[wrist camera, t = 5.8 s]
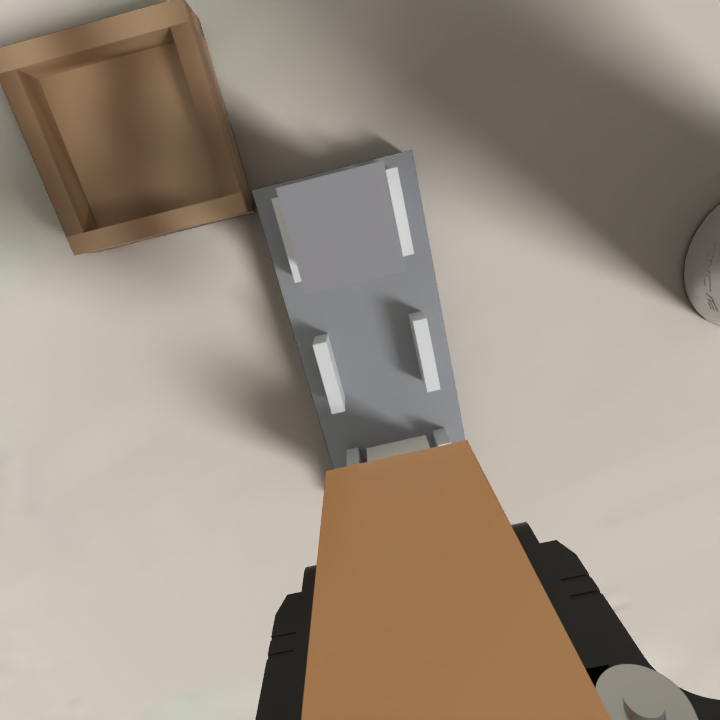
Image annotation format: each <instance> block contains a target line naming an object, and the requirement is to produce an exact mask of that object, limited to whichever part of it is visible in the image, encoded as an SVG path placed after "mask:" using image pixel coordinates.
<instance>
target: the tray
mask: <svg viewBox="0 0 720 720" xmlns="http://www.w3.org/2000/svg"><path fill="white" fill-rule="evenodd" d="M0 83H1V85H2V87H3V90H4V92H5V94H6V97H7V99H8V101H9V104H10V106H11V108H12V111H13V113H14V115H15V118H16V120H17V122H18V125H19V127H20V129H21V132H22V134H23V136H24V139H25V141H26V143H27V146H28V148H29V150H30V153H31V155H32V158H33V160H34V162H35V165H36V167H37V169H38V172H39V174H40V176H41V179H42V181H43V183H44V186H45V188H46V190H47V193H48V195H49V197H50V200H51V202H52V204H53V207H54V209H55V211H56V214H57V216H58V218H59V221H60V223H61V225H62V228H63V230H64V232H65V235H66V237H67V239H68V242H69V244H70V246H71V249H72V251H73V253H74V255H79V254H86V253H94V252H100V251H104V250H108V249H112V248H116V247H120V246H123V245H127V244H131V243H135V242H139V241H143V240H147V239H151V238H155V237H159V236H163V235H167V234H171V233H175V232H179V231H183V230H187V229H191V228H195V227H198V226H202V225H206V224H210V223H214V222H218V221H222V220H226V219H230V218H234V217H238V216H242V215H246V214H250V213H254V212H256V211H255V208H254V204H253V201H252V197H251V194H250V191H249V187H248V184H247V180H246V177H245V174H244V170H243V167H242V163H241V160H240V157H239V153H238V150H237V146H236V143H235V140H234V136H233V133H232V129H231V126H230V123H229V119H228V116H227V113H226V109H225V106H224V102H223V99H222V96H221V92H220V89H219V85H218V82H217V79H216V75H215V72H214V68H213V65H212V62H211V58H210V55H209V51H208V48H207V45H206V41H205V38H204V34H203V31H202V28H201V24H200V21H199V19H198V17H197V16H196V15H195V13H194V12H193V11H192V9H191V8H190V7H189V5H188V4H187V3H186V1H185V0H170V1H166V2H162V3H159V4H155V5H152V6H148V7H145V8H141V9H137V10H134V11H130V12H127V13H123V14H119V15H116V16H112V17H109V18H105V19H102V20H98V21H94V22H91V23H87V24H84V25H80V26H76V27H73V28H69V29H66V30H62V31H58V32H55V33H51V34H48V35H44V36H41V37H37V38H33V39H30V40H26V41H23V42H19V43H15V44H12V45H8V46H5V47H1V48H0Z"/></svg>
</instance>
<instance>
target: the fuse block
mask: <svg viewBox="0 0 720 720" xmlns="http://www.w3.org/2000/svg"><path fill="white" fill-rule="evenodd" d="M252 193H253V196H254V200H255V203H256V206H257V210H258V213H259V217H260V220H261V223H262V227H263V230H264V234H265V237H266V240H267V244H268V247H269V251H270V254H271V258H272V261H273V264H274V268H275V271H276V275H277V278H278V281H279V285H280V288H281V292H282V295H283V298H284V302H285V305H286V309H287V312H288V316H289V319H290V322H291V326H292V329H293V333H294V336H295V339H296V343H297V346H298V350H299V353H300V356H301V360H302V363H303V367H304V370H305V374H306V377H307V380H308V384H309V387H310V391H311V394H312V397H313V401H314V404H315V408H316V411H317V414H318V418H319V421H320V425H321V428H322V432H323V435H324V438H325V442H326V445H327V449H328V452H329V455H330V459H331V462H332V466H333V469H337V468H342V467H346V466H351V465H355V464H360V463H365V462H369V461H374V460H378V459H383V458H387V457H392V456H396V455H401V454H406V453H410V452H415V451H419V450H424V449H428V448H433V447H437V446H442V445H447V444H451V443H456V442H460V441H465V436H464V430H463V425H462V419H461V414H460V408H459V403H458V397H457V392H456V387H455V381H454V376H453V370H452V365H451V359H450V354H449V348H448V343H447V338H446V332H445V327H444V321H443V316H442V310H441V305H440V299H439V294H438V289H437V283H436V278H435V272H434V267H433V261H432V256H431V250H430V245H429V239H428V234H427V229H426V223H425V218H424V212H423V207H422V201H421V196H420V190H419V185H418V180H417V174H416V169H415V163H414V158H413V152H412V150H409V151H405V152H401V153H397V154H393V155H389V156H385V157H382V158H378V159H374V160H370V161H366V162H362V163H358V164H354V165H350V166H346V167H342V168H339V169H335V170H331V171H327V172H323V173H319V174H315V175H311V176H307V177H303V178H299V179H296V180H292V181H288V182H284V183H280V184H276V185H272V186H268V187H264V188H260V189H256V190H253V191H252Z"/></svg>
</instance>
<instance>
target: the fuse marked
mask: <svg viewBox="0 0 720 720" xmlns="http://www.w3.org/2000/svg"><path fill="white" fill-rule="evenodd" d="M301 720H611V718H610V716H609V714H608V712H607V710H606V708H605V706H604V704H603V702H602V700H601V698H600V696H599V694H598V693H597V691H596V689H595V687H594V685H593V683H592V681H591V679H590V677H589V675H588V673H587V671H586V669H585V667H584V665H583V664H582V662H581V660H580V658H579V656H578V654H577V652H576V650H575V648H574V646H573V644H572V642H571V640H570V638H569V636H568V635H567V633H566V631H565V629H564V627H563V625H562V623H561V621H560V619H559V617H558V615H557V613H556V611H555V609H554V607H553V606H552V604H551V602H550V600H549V598H548V596H547V594H546V592H545V590H544V588H543V586H542V584H541V582H540V580H539V578H538V577H537V575H536V573H535V571H534V569H533V567H532V565H531V563H530V561H529V559H528V557H527V555H526V553H525V551H524V549H523V548H522V546H521V544H520V542H519V540H518V538H517V536H516V534H515V532H514V530H513V528H512V526H511V524H510V522H509V520H508V519H507V517H506V515H505V513H504V511H503V509H502V507H501V505H500V503H499V501H498V499H497V497H496V495H495V493H494V491H493V490H492V488H491V486H490V484H489V482H488V480H487V478H486V476H485V474H484V472H483V470H482V468H481V466H480V464H479V462H478V461H477V459H476V457H475V455H474V453H473V451H472V449H471V447H470V445H469V443H468V441H467V440H465V441H460V442H456V443H451V444H447V445H442V446H437V447H433V448H428V449H424V450H419V451H415V452H410V453H406V454H401V455H396V456H392V457H387V458H383V459H378V460H374V461H369V462H365V463H360V464H355V465H351V466H346V467H342V468H337V469H333V470H328V471H326V477H325V487H324V497H323V507H322V517H321V527H320V537H319V547H318V557H317V567H316V577H315V587H314V597H313V607H312V617H311V627H310V637H309V647H308V657H307V667H306V677H305V687H304V696H303V706H302V716H301Z"/></svg>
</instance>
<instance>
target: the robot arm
mask: <svg viewBox="0 0 720 720" xmlns="http://www.w3.org/2000/svg"><path fill="white" fill-rule="evenodd" d="M684 281H685V289H686V292H687V295H688V297H689V300H690V302H691V304H692V305H693V307H694V308H695V309H696V311H697V312H698V313H699V314H700V315H701V316H703V317H704V318H705V319H706V320H707V321H709V322H712V323H714V324H716V325H718V326H720V204H719V205H718V206H717V207H716V208H715V209H714V210H713V211H712V212H711V213H710V214H709V215H708V216H707V217H706V219H705V220H704V221H703V223H702V224H701V225H700V227H699V228H698V230H697V232H696V234H695V235H694V237H693V239H692V241H691V243H690V246H689V249H688V253H687V256H686V259H685V269H684ZM511 526H512V528H513V530H514V532H515V534H516V536H517V538H518V540H519V542H520V544H521V546H522V548H523V549H524V551H525V553H526V555H527V557H528V559H529V561H530V563H531V565H532V567H533V569H534V571H535V573H536V575H537V577H538V578H539V580H540V582H541V584H542V586H543V588H544V590H545V592H546V594H547V596H548V598H549V600H550V602H551V604H552V606H553V607H554V609H555V611H556V613H557V615H558V617H559V619H560V621H561V623H562V625H563V627H564V629H565V631H566V633H567V635H568V636H569V638H570V640H571V642H572V644H573V646H574V648H575V650H576V652H577V654H578V656H579V658H580V660H581V662H582V664H583V665H584V667H585V669H586V671H587V673H588V675H589V677H590V679H591V681H592V683H593V685H594V687H595V689H596V691H597V693H598V694H599V696H600V698H601V700H602V702H603V704H604V706H605V708H606V710H607V712H608V714H609V716H610V718H611V720H720V700H716V699H710V698H705V697H701V696H698V695H695V694H692V693H690V692H688V691H685V690H683V689H681V688H679V687H678V686H677V685H675V684H674V683H673V682H672V681H671V680H669V679H668V678H666V677H665V676H664V675H662V674H660V673H658V672H657V671H656V670H655V669H654V668H653V667H652V666H651V665H650V664H649V663H648V661H647V660H646V659H645V657H644V656H643V654H642V653H641V651H640V650H639V648H638V647H637V645H636V644H635V642H634V641H633V639H632V638H631V636H630V635H629V633H628V632H627V630H626V629H625V627H624V626H623V624H622V623H621V621H620V620H619V618H618V617H617V615H616V614H615V612H614V611H613V609H612V608H611V606H610V605H609V603H608V602H607V600H606V599H605V597H604V596H603V594H601V593H600V590H599V588H598V587H597V585H596V584H595V582H594V581H593V579H592V578H590V576H589V573H588V572H587V570H586V569H585V567H584V566H583V564H582V563H581V561H580V560H579V558H578V557H577V555H576V554H575V553H573V552H572V551H571V550H569V549H568V548H566V547H565V546H564V545H562V544H561V543H560V542H558V541H557V540H554V541H549V542H544V543H539V542H538V540H537V538H536V536H535V535H534V533H533V531H532V529H531V528H530V526H529V525H528V523H527V522H523V523H519V524H514V525H511ZM316 567H317V565H315V566H310V567H306V568H305V571H304V577H303V585H302V592H299V593H294V594H289V595H287V596H286V598H285V600H284V601H283V603H282V605H281V606H280V608H279V610H278V612H277V613H276V615H275V620H274V625H273V631H272V636H271V637H272V641H270V646H269V652H268V659H267V662H266V667H265V673H264V678H263V683H262V688H261V694H260V699H259V704H258V709H257V715H256V720H301V716H302V706H303V696H304V687H305V677H306V667H307V657H308V647H309V637H310V627H311V617H312V607H313V597H314V587H315V577H316Z"/></svg>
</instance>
